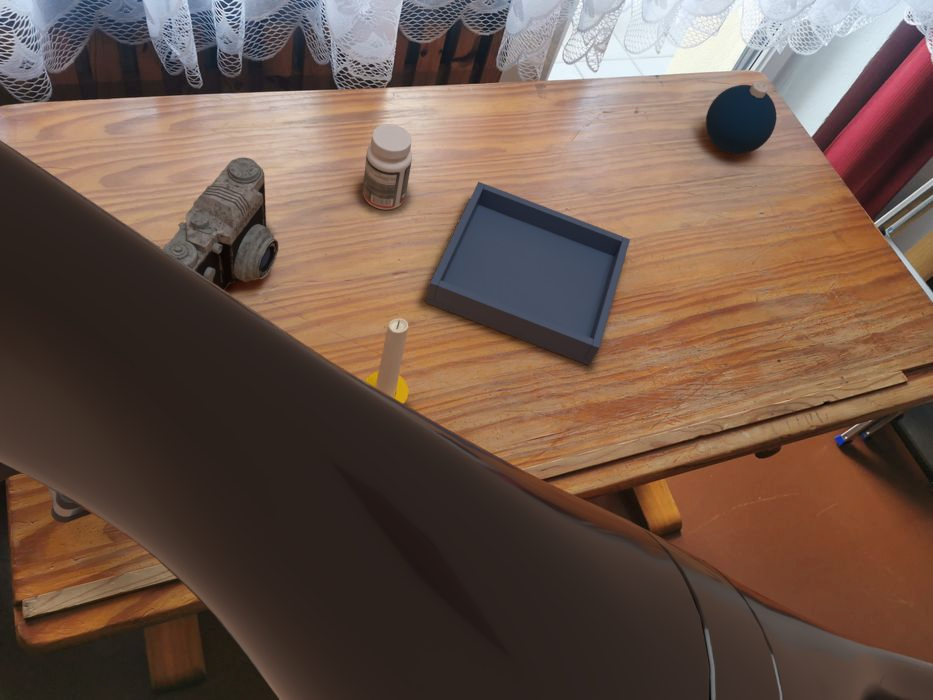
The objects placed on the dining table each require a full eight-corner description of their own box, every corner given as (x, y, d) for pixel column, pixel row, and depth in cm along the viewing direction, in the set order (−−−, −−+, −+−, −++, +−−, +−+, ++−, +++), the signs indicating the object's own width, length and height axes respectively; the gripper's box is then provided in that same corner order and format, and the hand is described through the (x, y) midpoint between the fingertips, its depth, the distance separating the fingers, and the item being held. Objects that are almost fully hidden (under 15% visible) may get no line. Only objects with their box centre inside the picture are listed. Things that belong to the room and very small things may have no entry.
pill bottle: (388, 173, 87) (396, 114, 80) (414, 200, 86) (424, 143, 79) (353, 189, 85) (359, 129, 78) (379, 217, 83) (387, 159, 76)
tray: (619, 258, 87) (630, 238, 84) (588, 366, 78) (599, 348, 75) (472, 202, 87) (478, 181, 84) (425, 302, 78) (430, 282, 76)
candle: (338, 419, 69) (349, 319, 57) (378, 384, 72) (397, 281, 59) (381, 457, 68) (402, 363, 55) (420, 420, 71) (448, 322, 58)
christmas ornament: (742, 124, 105) (781, 61, 96) (765, 169, 100) (807, 107, 92) (686, 121, 103) (720, 57, 94) (706, 167, 98) (744, 103, 90)
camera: (225, 343, 71) (217, 276, 63) (159, 315, 72) (142, 244, 63) (299, 237, 80) (301, 165, 72) (240, 212, 80) (234, 138, 72)
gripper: (-70, 547, 31) (269, 416, 43) (-200, 270, 34) (148, 217, 46) (-76, 605, 36) (228, 474, 48) (-189, 359, 39) (122, 291, 51)
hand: (188, 348), depth 47 cm, fingers open, 8 cm apart
